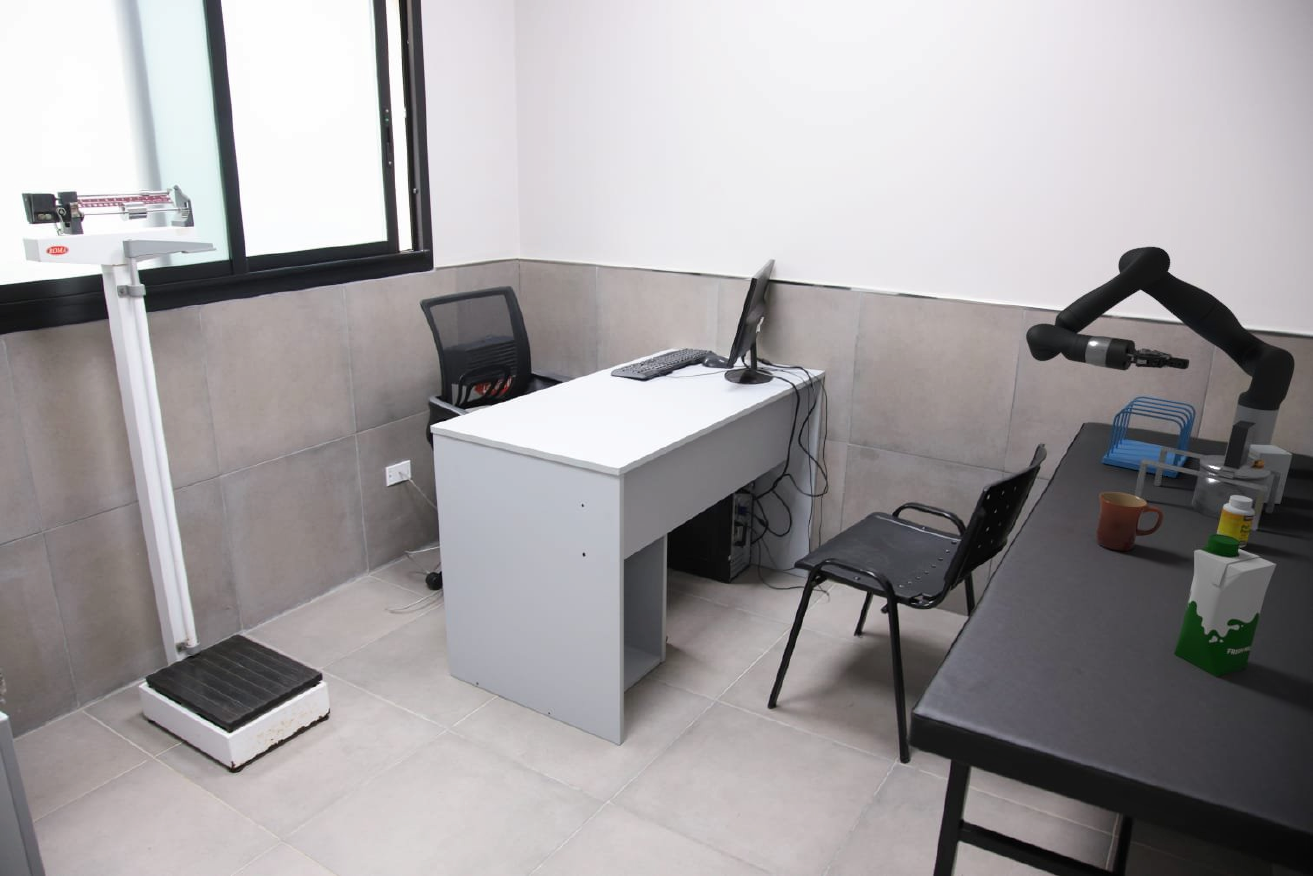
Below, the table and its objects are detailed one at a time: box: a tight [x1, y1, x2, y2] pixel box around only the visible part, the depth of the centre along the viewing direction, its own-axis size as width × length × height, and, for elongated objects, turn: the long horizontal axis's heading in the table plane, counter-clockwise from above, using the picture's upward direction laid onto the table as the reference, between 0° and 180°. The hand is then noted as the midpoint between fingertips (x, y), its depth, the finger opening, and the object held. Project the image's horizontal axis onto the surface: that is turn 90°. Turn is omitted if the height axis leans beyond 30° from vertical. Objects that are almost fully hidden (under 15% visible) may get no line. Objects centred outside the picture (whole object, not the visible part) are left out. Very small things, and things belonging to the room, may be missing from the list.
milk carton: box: [1173, 533, 1277, 677], centre depth 134 cm, size 9×9×20 cm
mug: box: [1095, 491, 1164, 552], centre depth 178 cm, size 12×9×10 cm
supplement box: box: [1248, 444, 1293, 504], centre depth 210 cm, size 7×7×13 cm
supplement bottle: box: [1216, 495, 1255, 549], centre depth 182 cm, size 6×6×10 cm
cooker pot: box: [1134, 446, 1282, 532], centre depth 203 cm, size 25×16×10 cm, turn 45°
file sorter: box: [1101, 395, 1196, 479], centre depth 236 cm, size 25×17×15 cm
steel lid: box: [1199, 420, 1271, 479], centre depth 197 cm, size 14×16×11 cm
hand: (1187, 364), depth 203 cm, fingers closed
